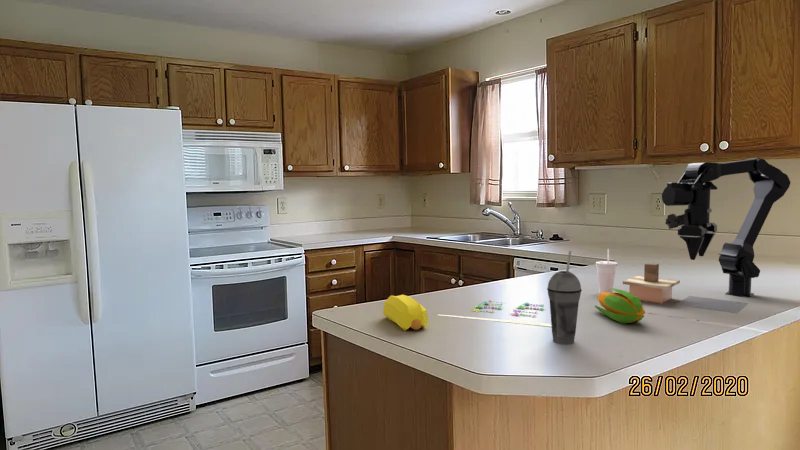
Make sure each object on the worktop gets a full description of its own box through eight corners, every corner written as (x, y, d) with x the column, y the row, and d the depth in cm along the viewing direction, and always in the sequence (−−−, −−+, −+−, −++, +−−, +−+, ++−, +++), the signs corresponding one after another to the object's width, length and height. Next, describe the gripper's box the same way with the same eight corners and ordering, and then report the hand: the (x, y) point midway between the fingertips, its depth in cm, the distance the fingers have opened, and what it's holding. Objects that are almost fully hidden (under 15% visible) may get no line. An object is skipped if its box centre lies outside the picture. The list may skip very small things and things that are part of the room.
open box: (639, 295, 164) (640, 279, 163) (671, 300, 158) (672, 283, 157) (629, 300, 157) (629, 284, 157) (661, 305, 151) (662, 287, 151)
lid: (637, 278, 165) (637, 259, 165) (679, 283, 157) (680, 263, 157) (622, 284, 157) (623, 264, 156) (666, 289, 149) (667, 268, 148)
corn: (625, 296, 128) (586, 281, 147) (622, 328, 128) (584, 308, 148) (654, 297, 129) (611, 282, 148) (651, 329, 129) (609, 309, 149)
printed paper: (436, 316, 143) (436, 310, 143) (471, 296, 170) (471, 292, 170) (552, 328, 130) (552, 322, 130) (570, 304, 157) (570, 299, 157)
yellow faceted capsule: (403, 335, 125) (433, 331, 128) (402, 306, 125) (433, 303, 128) (379, 317, 142) (406, 314, 145) (379, 292, 142) (406, 289, 144)
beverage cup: (541, 336, 122) (542, 249, 120) (572, 335, 122) (574, 248, 121) (553, 346, 115) (554, 253, 113) (586, 345, 115) (588, 252, 114)
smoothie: (618, 295, 165) (619, 250, 163) (596, 294, 166) (597, 249, 165) (614, 291, 171) (615, 247, 170) (593, 290, 172) (594, 247, 171)
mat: (689, 297, 161) (689, 295, 161) (748, 304, 151) (748, 303, 151) (674, 306, 150) (674, 304, 150) (736, 314, 140) (736, 313, 140)
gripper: (678, 203, 170) (677, 252, 171) (659, 206, 157) (657, 259, 158) (718, 204, 163) (716, 255, 164) (702, 206, 149) (700, 262, 150)
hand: (697, 258), depth 159 cm, fingers open, 9 cm apart
